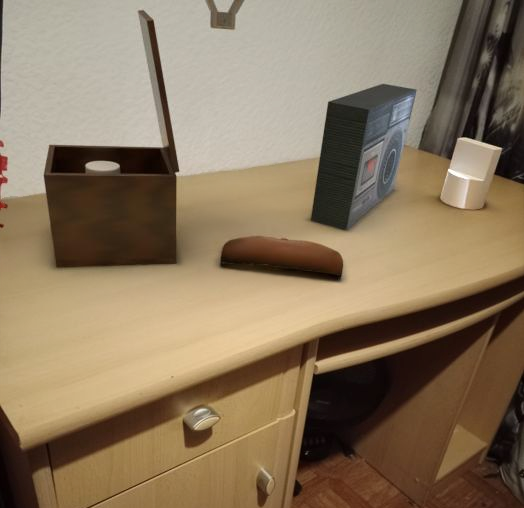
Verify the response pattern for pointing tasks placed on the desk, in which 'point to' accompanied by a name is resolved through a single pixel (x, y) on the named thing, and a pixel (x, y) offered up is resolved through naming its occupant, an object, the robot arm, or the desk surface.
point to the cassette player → (360, 153)
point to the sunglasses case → (282, 254)
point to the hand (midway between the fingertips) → (222, 28)
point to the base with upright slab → (470, 174)
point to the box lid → (158, 87)
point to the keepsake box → (111, 206)
